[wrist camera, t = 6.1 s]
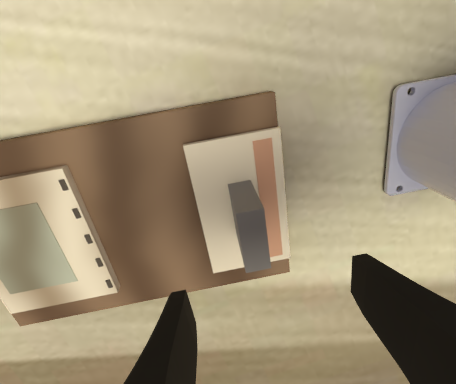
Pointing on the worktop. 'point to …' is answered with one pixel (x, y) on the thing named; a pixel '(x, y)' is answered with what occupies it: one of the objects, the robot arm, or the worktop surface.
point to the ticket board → (113, 211)
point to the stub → (241, 198)
